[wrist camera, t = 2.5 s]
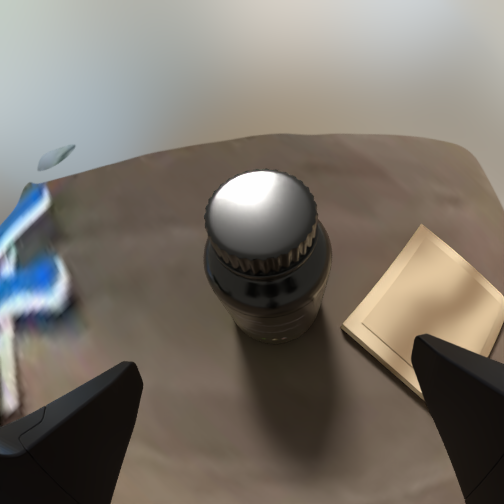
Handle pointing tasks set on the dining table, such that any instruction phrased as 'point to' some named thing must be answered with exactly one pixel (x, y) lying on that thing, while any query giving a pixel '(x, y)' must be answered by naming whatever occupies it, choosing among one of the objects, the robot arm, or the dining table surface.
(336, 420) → the dining table surface
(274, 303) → the supplement bottle
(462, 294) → the coaster
